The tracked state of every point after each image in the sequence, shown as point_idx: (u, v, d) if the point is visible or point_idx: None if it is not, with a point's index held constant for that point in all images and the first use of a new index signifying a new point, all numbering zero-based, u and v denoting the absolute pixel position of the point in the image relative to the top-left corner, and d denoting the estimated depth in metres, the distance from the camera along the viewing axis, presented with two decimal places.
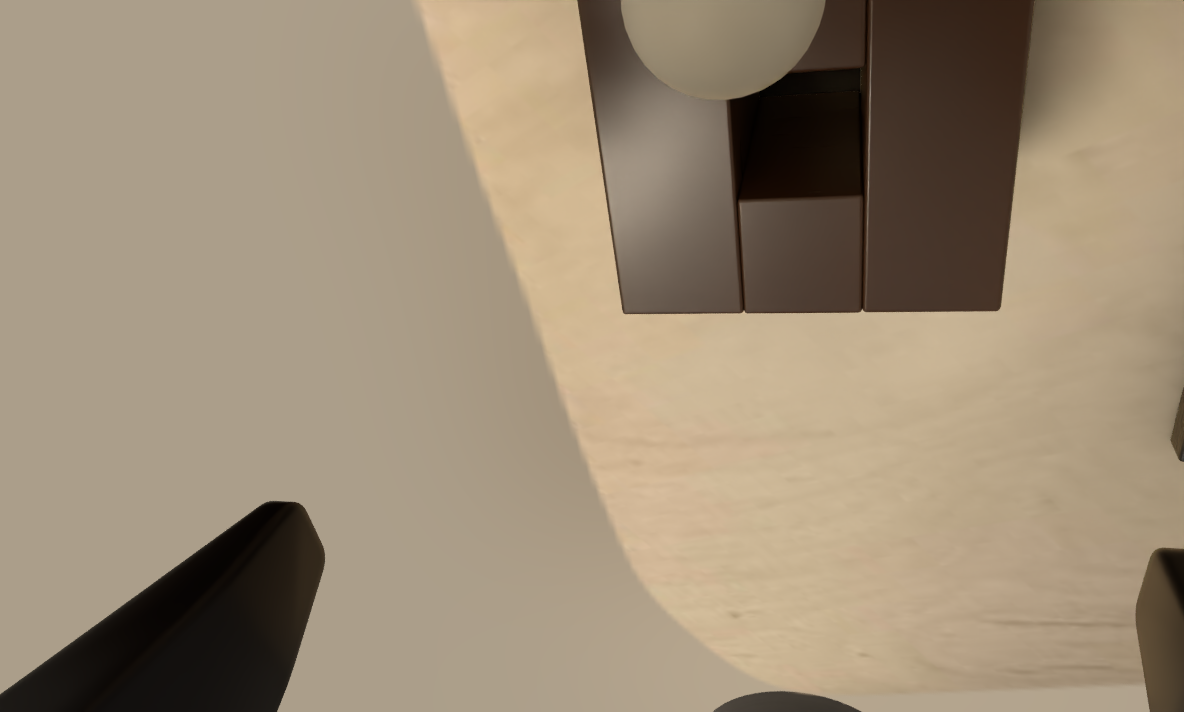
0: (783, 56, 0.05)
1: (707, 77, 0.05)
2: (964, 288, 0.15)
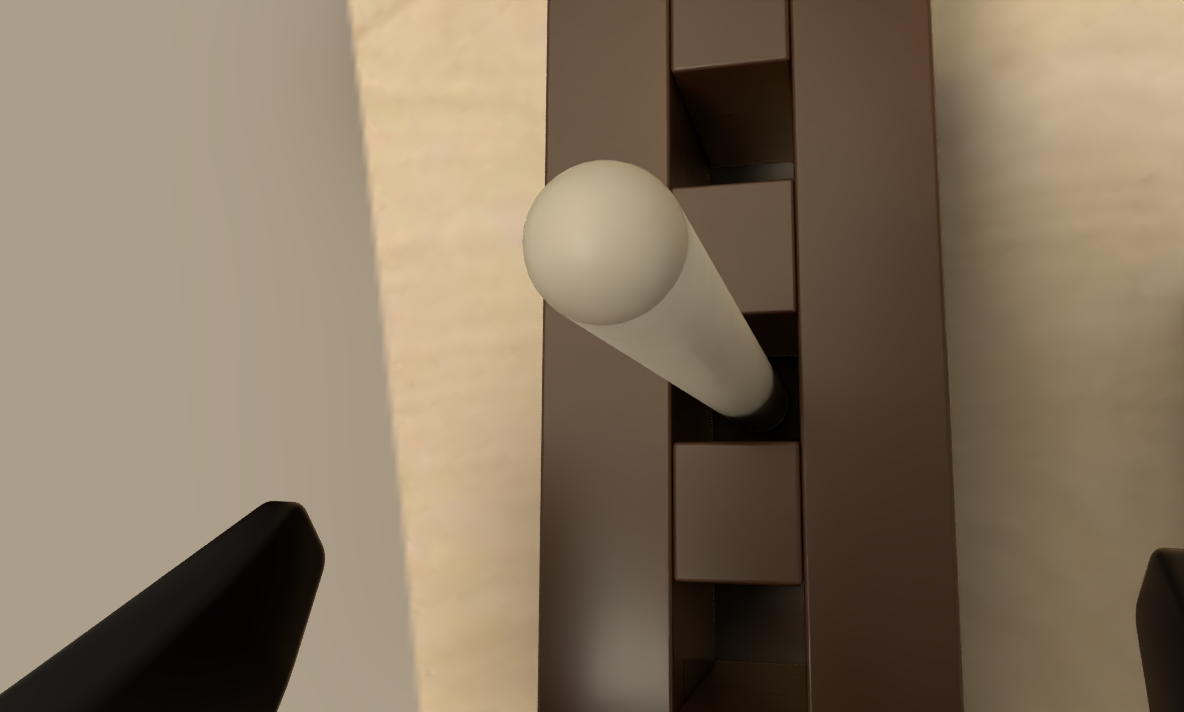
0: (645, 266, 0.06)
1: (580, 274, 0.06)
2: None
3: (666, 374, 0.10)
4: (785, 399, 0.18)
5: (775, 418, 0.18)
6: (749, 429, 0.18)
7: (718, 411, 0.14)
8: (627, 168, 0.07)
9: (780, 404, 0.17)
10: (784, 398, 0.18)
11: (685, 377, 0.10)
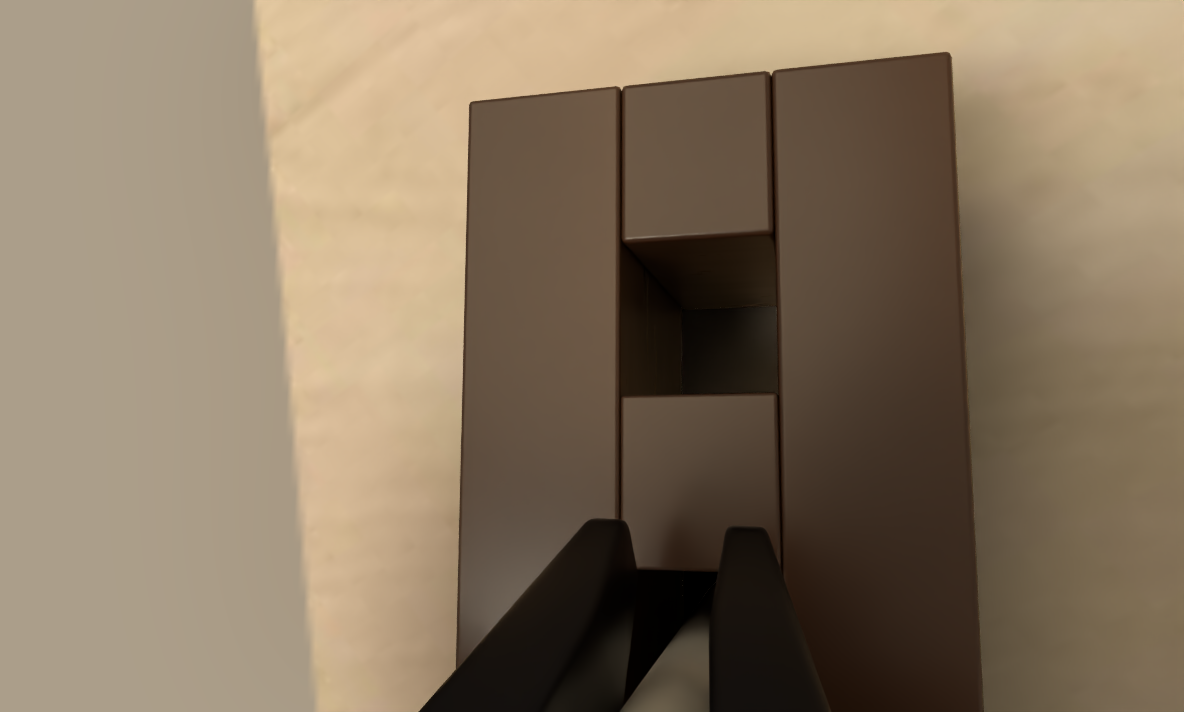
0: None
1: None
2: None
3: None
4: None
5: None
6: None
7: None
8: None
9: None
10: None
11: None
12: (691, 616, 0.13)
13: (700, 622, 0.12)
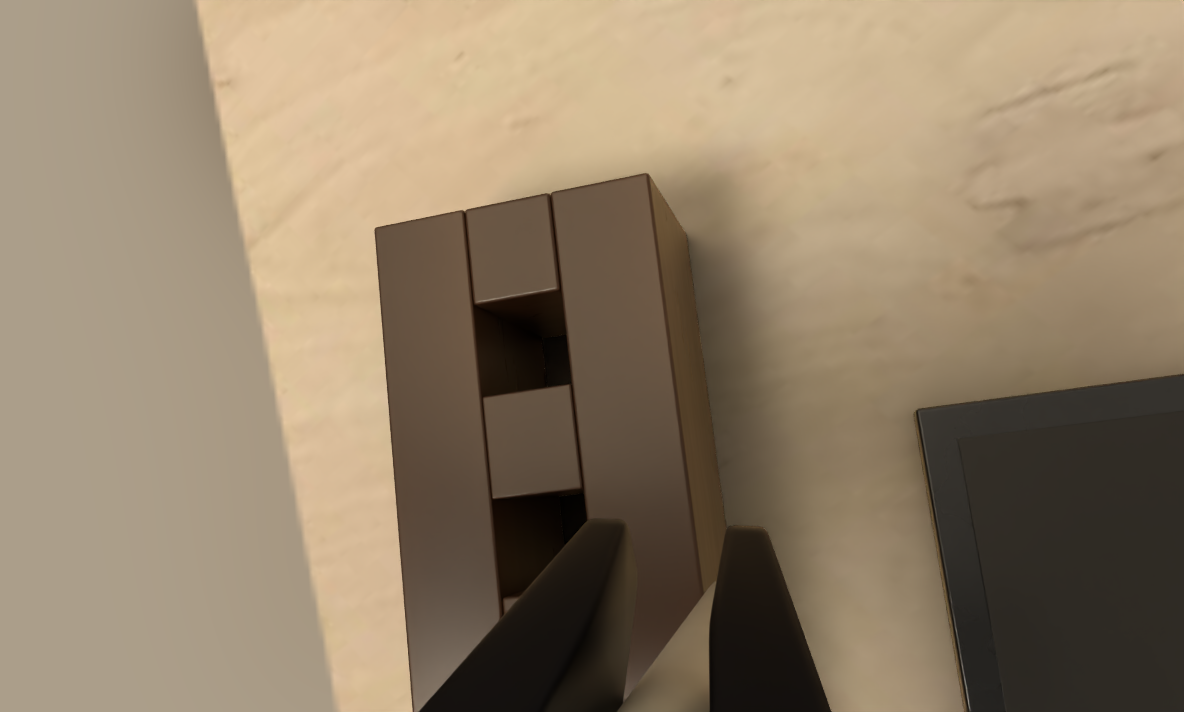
0: None
1: None
2: None
3: None
4: None
5: None
6: None
7: None
8: None
9: None
10: None
11: None
12: (690, 615, 0.13)
13: (699, 621, 0.12)
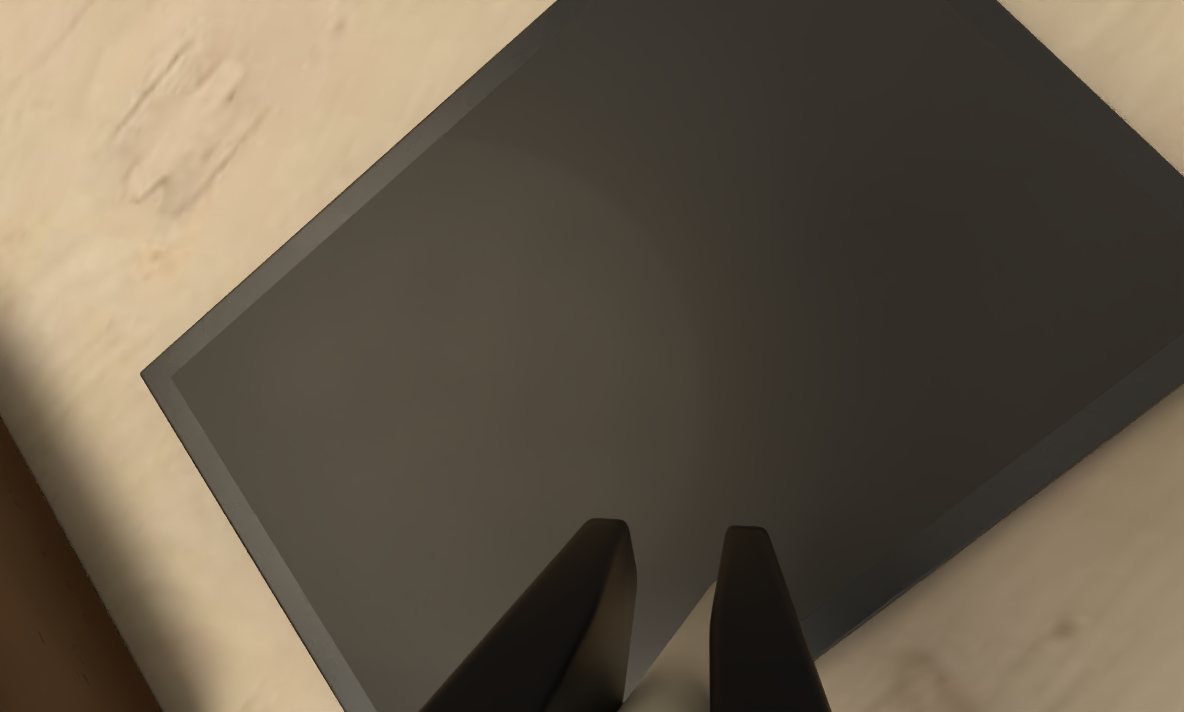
0: None
1: None
2: None
3: None
4: None
5: None
6: None
7: None
8: None
9: None
10: None
11: None
12: (692, 614, 0.13)
13: (701, 620, 0.12)
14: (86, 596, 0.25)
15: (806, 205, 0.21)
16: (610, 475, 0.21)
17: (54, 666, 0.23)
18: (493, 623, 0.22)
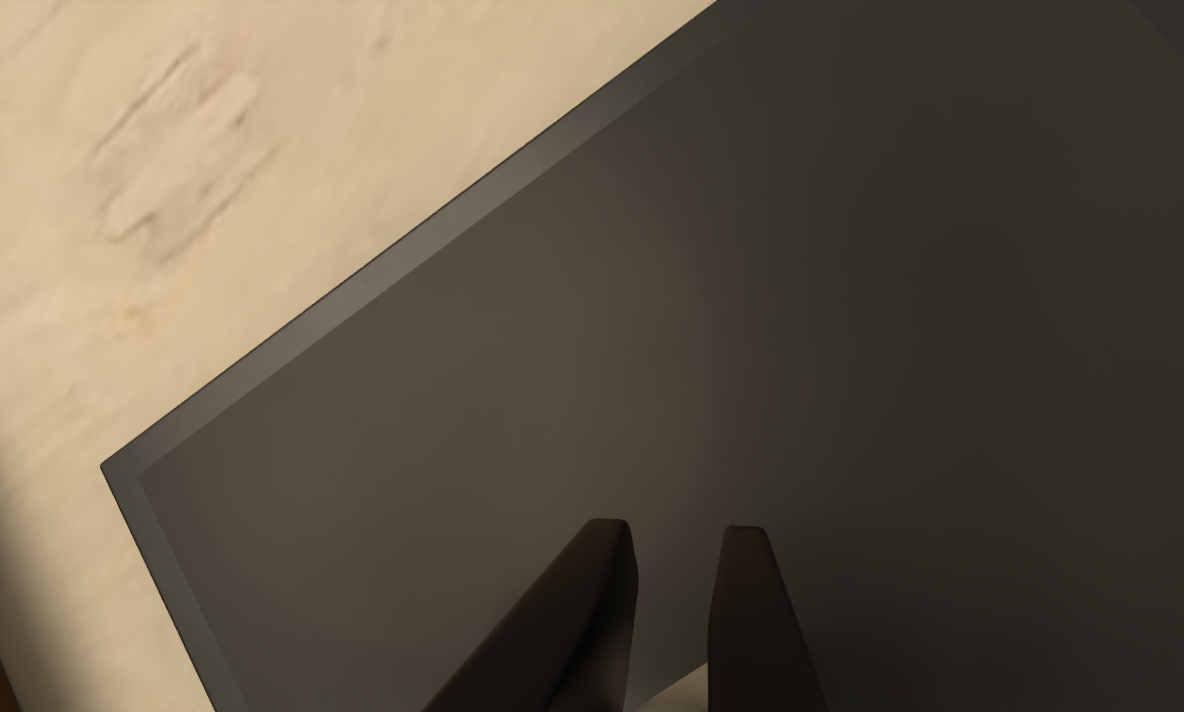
0: None
1: None
2: None
3: None
4: None
5: None
6: None
7: None
8: None
9: None
10: None
11: None
12: None
13: None
14: None
15: (992, 347, 0.16)
16: None
17: None
18: None
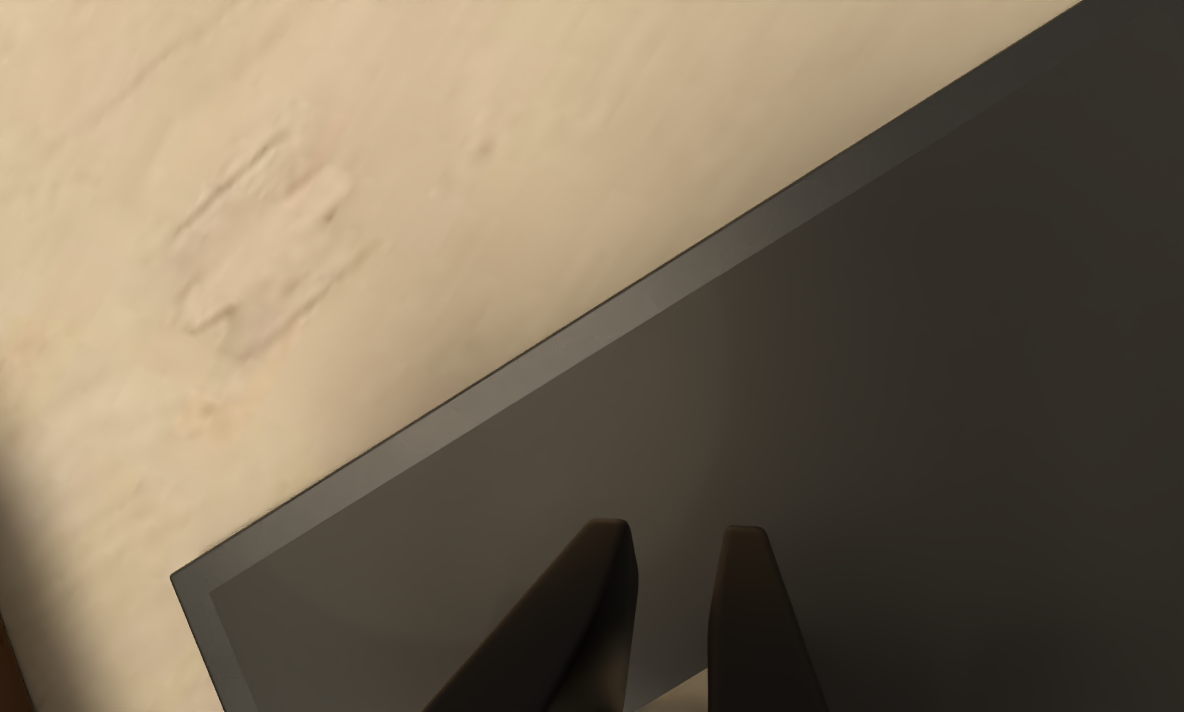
0: None
1: None
2: None
3: None
4: None
5: None
6: None
7: None
8: None
9: None
10: None
11: None
12: None
13: None
14: None
15: (1142, 553, 0.15)
16: None
17: None
18: None
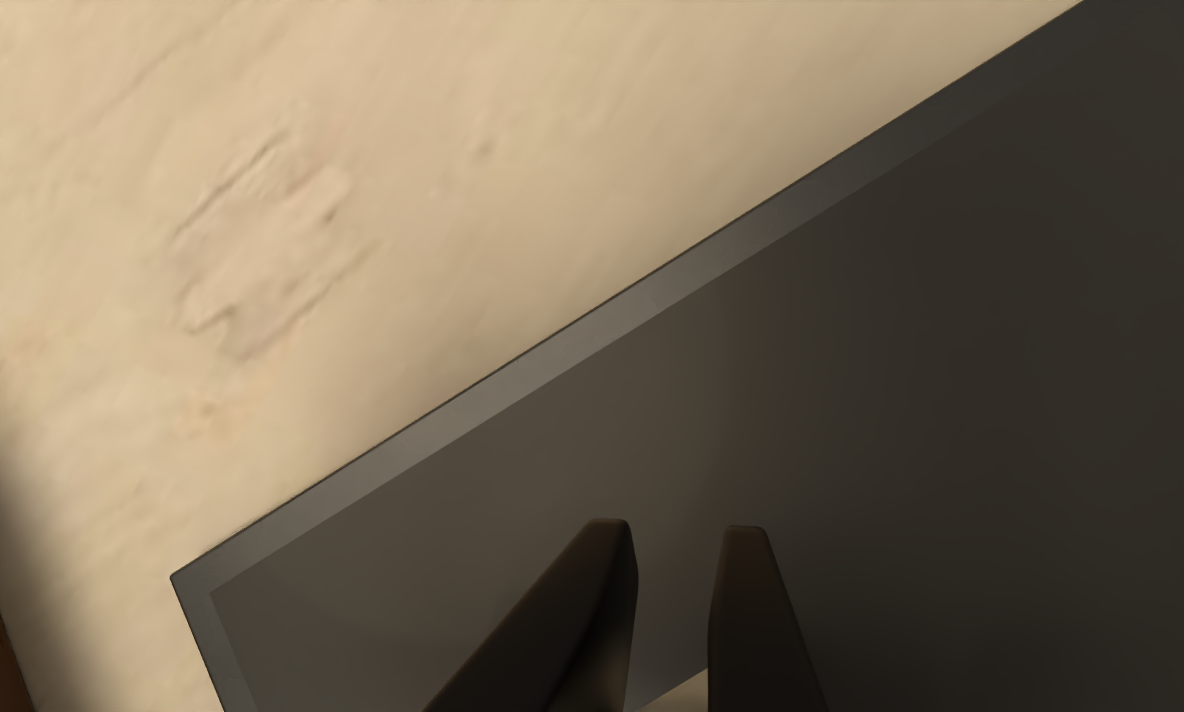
0: None
1: None
2: None
3: None
4: None
5: None
6: None
7: None
8: None
9: None
10: None
11: None
12: None
13: None
14: None
15: (1142, 553, 0.15)
16: None
17: None
18: None
